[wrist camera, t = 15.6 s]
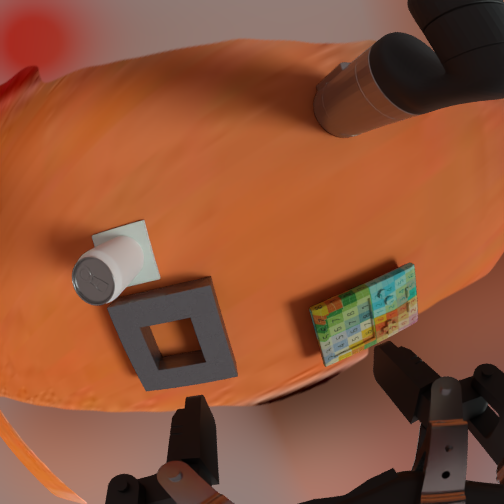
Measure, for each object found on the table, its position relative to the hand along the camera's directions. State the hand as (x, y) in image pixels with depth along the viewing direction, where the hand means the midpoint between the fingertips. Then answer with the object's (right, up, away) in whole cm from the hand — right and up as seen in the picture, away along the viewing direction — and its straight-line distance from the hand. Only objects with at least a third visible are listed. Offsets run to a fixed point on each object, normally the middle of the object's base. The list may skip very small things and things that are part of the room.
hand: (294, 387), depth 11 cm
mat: (-21, +5, +27) cm, 35 cm away
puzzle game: (+18, -4, +35) cm, 39 cm away
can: (-21, +5, +27) cm, 34 cm away
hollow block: (-14, -7, +31) cm, 35 cm away
